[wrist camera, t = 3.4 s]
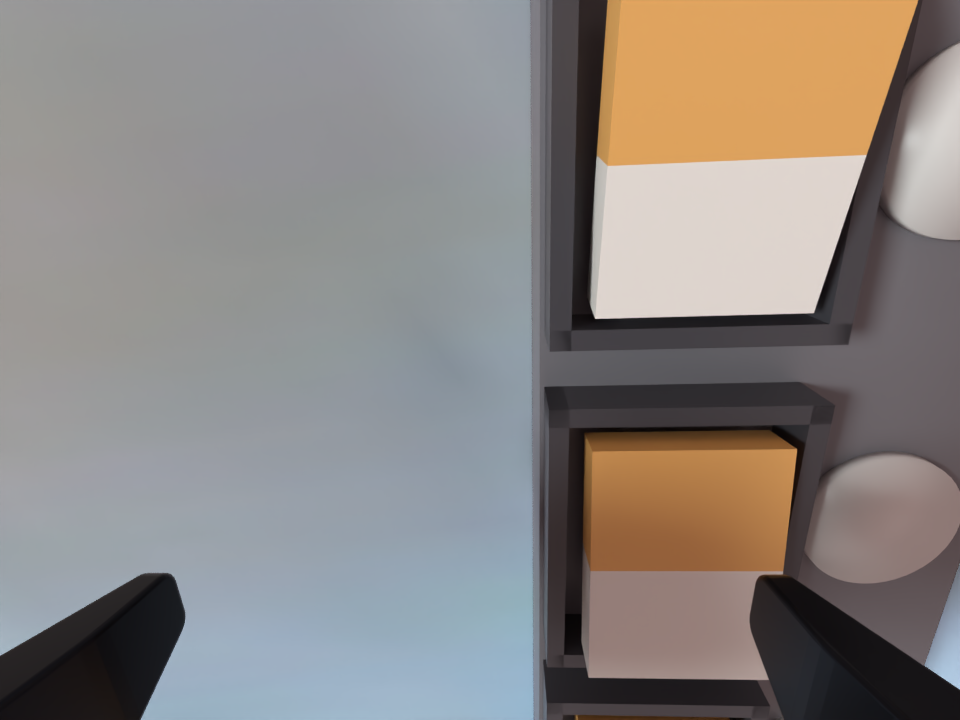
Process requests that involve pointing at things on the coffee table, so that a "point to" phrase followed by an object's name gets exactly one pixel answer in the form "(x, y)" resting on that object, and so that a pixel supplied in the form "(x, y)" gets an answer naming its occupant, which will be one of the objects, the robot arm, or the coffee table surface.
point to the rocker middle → (680, 549)
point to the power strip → (759, 373)
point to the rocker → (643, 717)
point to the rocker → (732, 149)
